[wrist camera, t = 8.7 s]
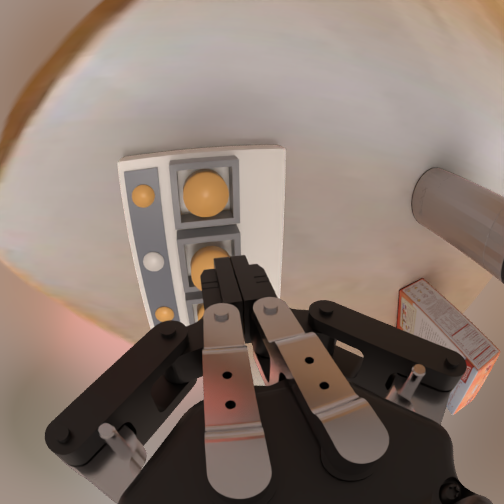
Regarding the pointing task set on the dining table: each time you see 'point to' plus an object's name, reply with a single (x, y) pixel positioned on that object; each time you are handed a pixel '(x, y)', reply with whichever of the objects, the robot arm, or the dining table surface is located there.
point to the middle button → (204, 262)
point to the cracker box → (448, 336)
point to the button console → (200, 220)
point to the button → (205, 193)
